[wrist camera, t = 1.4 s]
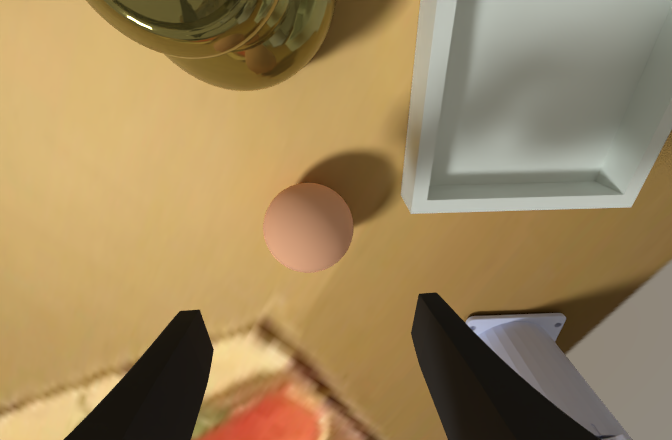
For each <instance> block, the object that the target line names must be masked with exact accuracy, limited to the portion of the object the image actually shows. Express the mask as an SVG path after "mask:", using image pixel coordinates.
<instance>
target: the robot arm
mask: <svg viewBox="0 0 672 440" xmlns="http://www.w3.org/2000/svg"><path fill="white" fill-rule="evenodd" d="M565 321H566V317H565V316H564V315H563V314H562V313H541V314H516V315H490V316H471V317H469V318H468V319H467V320H466V323H465V322H464V321H463V320H462V319H461V318H460V317H459V316H458V315H457V314H456V313H455V312H454V310H453V309H452V308H451V307H450V306H449V305H448V304H447V303H446V302H445V301H444V300H443V299H442V298H441V297H440V296H439V295H438V294H437V293H424V294H419V296H418V301H417V306H416V311H415V316H414V321H413V326H412V332H411V335H412V339H413V343H414V347H415V351H416V354H417V358H418V362H419V365H420V367H421V370H422V373H423V375H424V378H425V381H426V383H427V386H428V389H429V391H430V394H431V396H432V399H433V402H434V404H435V407H436V409H437V412H438V414H439V417H440V420H441V422H442V425H443V427H444V430H445V433H446V435H447V438H448V440H632V438H631V437H630V436H629V435H628V433H627V432H626V431H625V430H624V428H623V427H622V426H621V425H620V423H619V422H618V421H617V420H616V418H615V417H614V416H613V415H612V413H611V412H610V411H609V410H608V408H607V407H606V406H605V404H604V403H603V402H602V401H601V399H600V398H599V397H598V396H597V395H596V393H595V392H594V391H593V390H592V388H591V387H590V386H589V384H588V383H587V382H586V381H585V379H584V378H583V377H582V376H581V374H580V373H579V372H578V371H577V369H576V368H575V367H574V366H573V364H572V363H571V362H570V361H569V359H568V358H567V357H566V356H565V354H564V353H563V352H562V351H561V349H560V348H559V347H558V346H557V344H556V343H555V341H556V339H557V337H558V335H559V333H560V331H561V329H562V327H563V325H564V323H565ZM213 350H214V349H213V346H212V344H211V341H210V338H209V335H208V332H207V329H206V326H205V324H204V321H203V318H202V315H201V312H200V310H188V311H180V312H179V313H178V314H177V315H176V316H175V317H174V318H173V320H172V321H171V322H170V323H169V324H168V326H167V327H166V328H165V329H164V330H163V332H162V333H161V334H160V335H159V336H158V338H157V339H156V340H155V341H154V342H153V344H152V345H151V346H150V347H149V348H148V349H147V351H146V352H145V353H144V354H143V355H142V356H141V358H140V359H139V360H138V361H137V362H136V363H135V365H134V366H133V367H132V368H131V369H130V370H129V371H128V373H127V374H126V375H125V376H124V377H123V378H122V379H121V380H120V382H119V383H118V384H117V385H116V386H115V387H114V388H113V389H112V390H111V391H110V392H109V393H108V395H107V396H106V397H105V398H104V399H103V400H102V401H101V402H100V403H99V404H98V405H97V406H96V407H95V408H94V409H93V411H92V412H91V413H90V414H89V415H88V416H87V417H86V418H85V419H84V420H83V421H82V422H81V423H80V424H79V425H78V426H77V427H76V428H75V429H74V430H73V431H72V432H71V433H70V434H69V435H68V436H67V437H66V438H65V439H64V440H191V437H192V433H193V430H194V427H195V424H196V420H197V417H198V414H199V410H200V407H201V404H202V400H203V397H204V394H205V390H206V387H207V383H208V378H209V373H210V368H211V362H212V356H213Z"/></svg>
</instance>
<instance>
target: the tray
mask: <svg viewBox="0 0 672 440" xmlns="http://www.w3.org/2000/svg"><path fill="white" fill-rule="evenodd" d="M671 130H672V0H420V10H419V20H418V30H417V40H416V50H415V59H414V69H413V79H412V89H411V99H410V109H409V119H408V129H407V139H406V149H405V158H404V168H403V178H402V188H401V196H402V198H403V200H404V202H405V204H406V205H407V207H408V209H409V211H410V213H411V214H416V213H450V212H485V211H519V210H553V209H587V208H622V207H632V205H633V203H634V201H635V199H636V197H637V195H638V193H639V191H640V189H641V187H642V186H643V184H644V182H645V180H646V178H647V176H648V174H649V172H650V170H651V168H652V166H653V164H654V162H655V161H656V159H657V157H658V155H659V153H660V151H661V149H662V147H663V145H664V143H665V141H666V139H667V137H668V135H669V134H670V132H671Z"/></svg>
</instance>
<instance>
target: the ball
mask: <svg viewBox="0 0 672 440" xmlns="http://www.w3.org/2000/svg"><path fill="white" fill-rule="evenodd" d="M263 231H264V238H265V242H266V244H267V247H268V249H269V250H270V252H271V254H272V255H273V256H274V257H275V258H276V260H277V261H279V262H280V263H281V264H283V265H284V266H286V267H287V268H290V269H292V270H295V271H299V272H305V273H311V272H318V271H322V270H325V269H327V268H329V267H331V266H332V265H334V264H335V263H337V262H338V261H339V260H340V259H341V258H342V257H343V256H344V254H345V253H346V251H347V250H348V248H349V246H350V243H351V240H352V236H353V219H352V215H351V212H350V209H349V207H348V205H347V204H346V202H345V201H344V200H343V198H342V197H341V196H340V195H339V194H338V193H336V192H335V191H334V190H332V189H330V188H329V187H326V186H324V185H321V184H317V183H300V184H296V185H293V186H290V187H288V188H286V189H285V190H283V191H282V192H280V193H279V194H278V195H277V196H276V197H275V198H274V199H273V201H272V202H271V203H270V205H269V207H268V209H267V211H266V214H265V218H264V223H263Z"/></svg>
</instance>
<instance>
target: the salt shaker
mask: <svg viewBox="0 0 672 440" xmlns="http://www.w3.org/2000/svg"><path fill="white" fill-rule="evenodd" d="M86 1H87V2H88V3H89V4H90V6H91V7H92V8H93V9H94V10H95V11H96V12H97V13H98V14H99V15H100V16H101V17H102V18H104V19H105V20H106V21H107V22H108V23H109V24H110V25H112V26H113V27H114V28H116V29H117V30H118V31H120V32H121V33H122V34H124V35H125V36H127V37H128V38H130V39H132V40H134V41H135V42H137V43H139V44H141V45H143V46H145V47H147V48H149V49H152V50H155V51H157V52H160V53H163V54H164V55H165V56H167V57H168V58H169V59H170V60H171V61H172V62H173V63H175V64H176V65H177V66H178V67H180V68H181V69H182V70H184V71H185V72H187V73H188V74H190V75H192V76H194V77H195V78H197V79H199V80H201V81H203V82H205V83H208V84H210V85H213V86H216V87H220V88H223V89H228V90H235V91H253V90H260V89H265V88H268V87H272V86H274V85H277V84H279V83H281V82H283V81H285V80H287V79H289V78H290V77H292V76H293V75H295V74H296V73H297V72H298V71H300V70H301V69H302V68H303V67H304V66H305V65H306V64H307V63H308V62H309V61H310V60H311V59H312V58H313V57H314V55H315V54H316V53H317V51H318V50H319V48H320V46H321V45H322V43H323V41H324V39H325V37H326V35H327V32H328V30H329V27H330V24H331V21H332V17H333V14H334V10H335V5H336V0H86Z"/></svg>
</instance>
